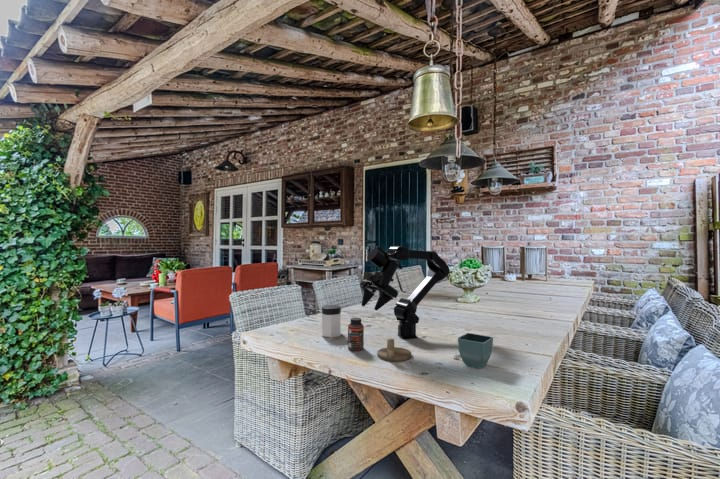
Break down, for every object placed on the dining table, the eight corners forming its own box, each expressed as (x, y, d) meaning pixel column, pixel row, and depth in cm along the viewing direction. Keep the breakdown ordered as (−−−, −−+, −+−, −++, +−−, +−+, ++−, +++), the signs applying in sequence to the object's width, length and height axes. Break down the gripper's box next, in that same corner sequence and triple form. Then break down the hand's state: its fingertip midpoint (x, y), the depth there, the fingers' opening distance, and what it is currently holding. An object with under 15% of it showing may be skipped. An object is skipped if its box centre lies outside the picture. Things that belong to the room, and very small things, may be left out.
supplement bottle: (349, 352, 125) (349, 321, 125) (346, 347, 131) (346, 317, 131) (365, 350, 127) (365, 319, 127) (361, 345, 133) (361, 316, 133)
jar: (326, 338, 142) (326, 309, 142) (317, 334, 149) (317, 306, 149) (345, 335, 147) (345, 307, 147) (335, 331, 154) (335, 304, 154)
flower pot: (467, 358, 119) (467, 332, 118) (493, 364, 113) (493, 336, 113) (457, 365, 112) (457, 338, 112) (484, 372, 106) (484, 343, 106)
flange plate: (382, 348, 129) (382, 329, 129) (414, 351, 125) (414, 332, 125) (372, 359, 117) (372, 339, 117) (407, 363, 114) (407, 342, 114)
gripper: (360, 261, 143) (342, 294, 139) (386, 264, 127) (367, 302, 123) (378, 275, 148) (361, 307, 144) (406, 279, 132) (388, 316, 128)
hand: (368, 308), depth 134 cm, fingers open, 9 cm apart
